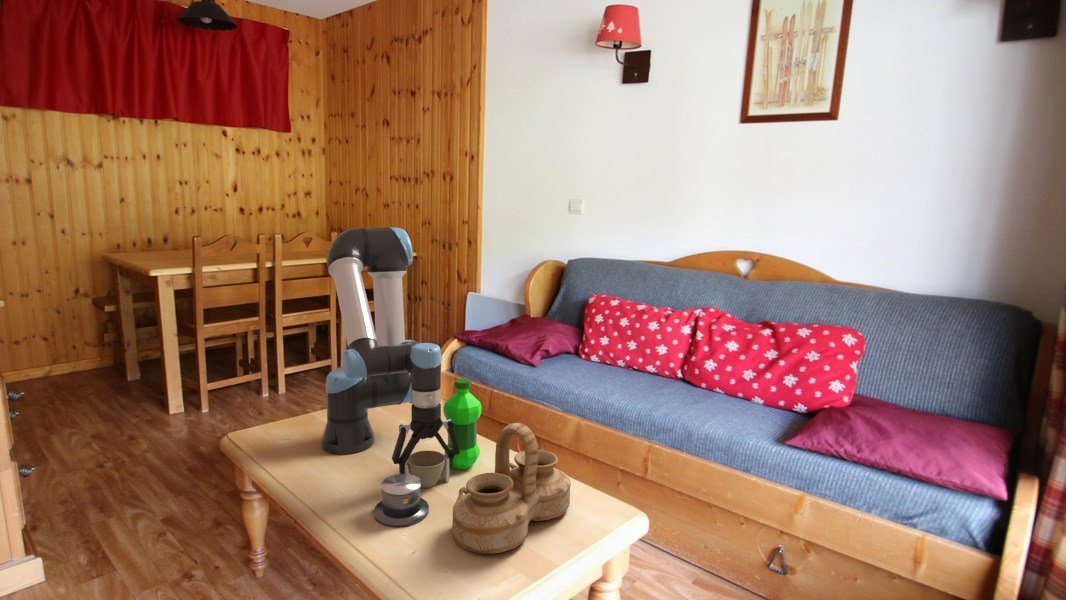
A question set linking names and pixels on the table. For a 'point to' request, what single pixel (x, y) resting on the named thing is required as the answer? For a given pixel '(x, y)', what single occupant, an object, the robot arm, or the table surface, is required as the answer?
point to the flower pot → (426, 466)
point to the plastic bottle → (463, 423)
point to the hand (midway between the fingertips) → (426, 482)
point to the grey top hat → (401, 502)
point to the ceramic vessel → (510, 496)
